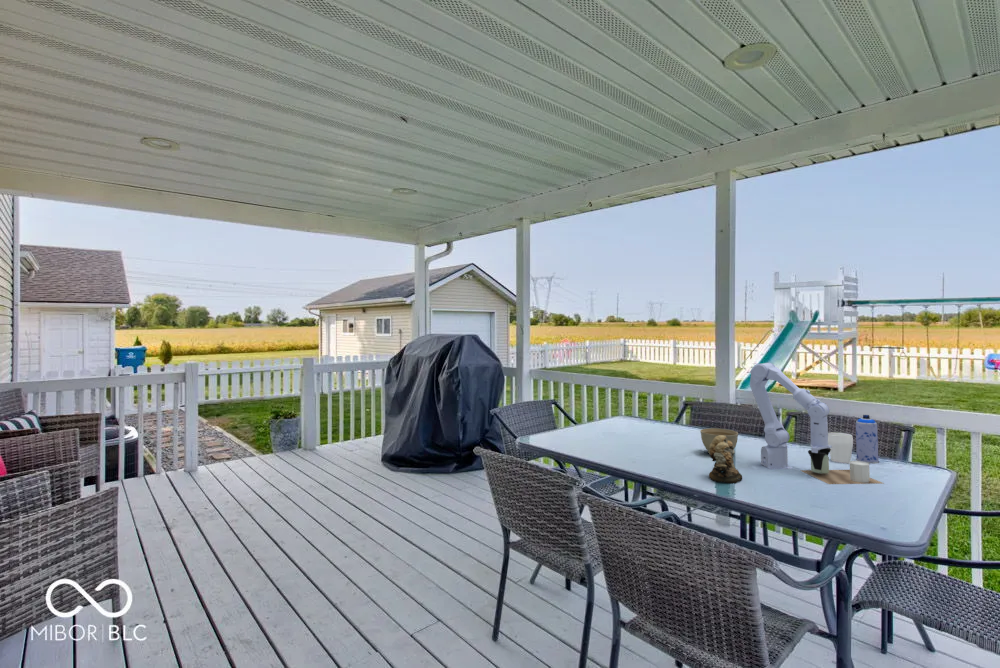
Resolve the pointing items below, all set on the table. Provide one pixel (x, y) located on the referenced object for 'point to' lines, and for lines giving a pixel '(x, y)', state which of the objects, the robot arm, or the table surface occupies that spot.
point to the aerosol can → (867, 440)
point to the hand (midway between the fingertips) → (819, 467)
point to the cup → (840, 447)
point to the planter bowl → (711, 433)
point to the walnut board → (837, 477)
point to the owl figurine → (723, 461)
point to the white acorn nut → (859, 471)
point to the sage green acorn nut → (824, 465)
